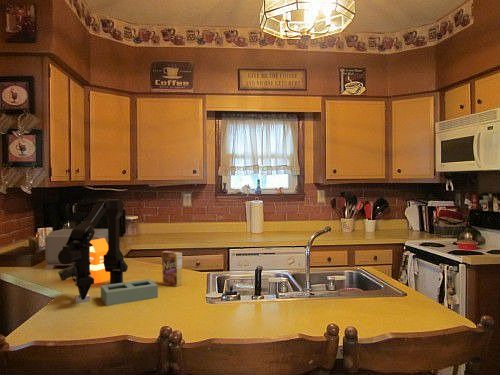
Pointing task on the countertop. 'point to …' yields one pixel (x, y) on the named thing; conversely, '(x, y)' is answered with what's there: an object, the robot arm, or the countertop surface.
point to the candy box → (172, 268)
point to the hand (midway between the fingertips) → (82, 298)
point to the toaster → (58, 240)
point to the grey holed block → (129, 292)
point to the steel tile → (79, 300)
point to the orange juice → (98, 260)
